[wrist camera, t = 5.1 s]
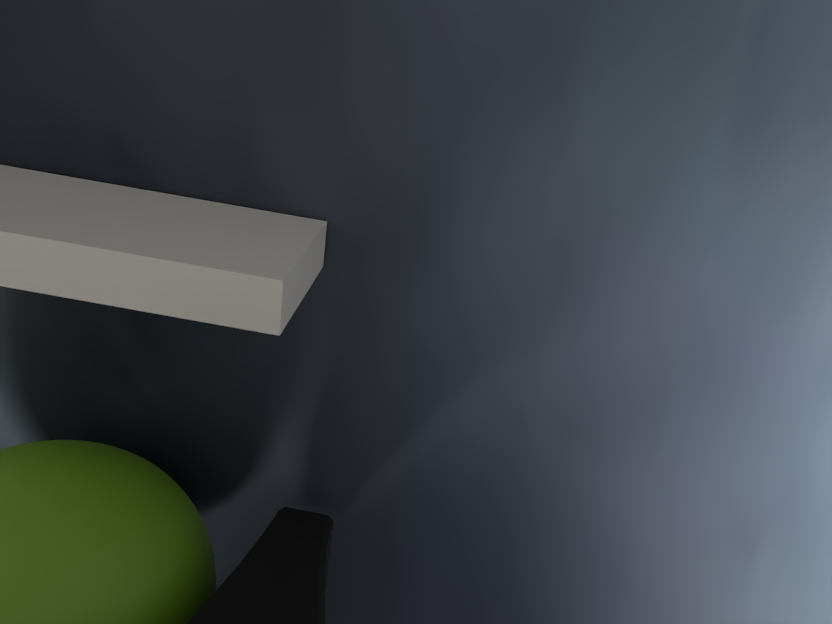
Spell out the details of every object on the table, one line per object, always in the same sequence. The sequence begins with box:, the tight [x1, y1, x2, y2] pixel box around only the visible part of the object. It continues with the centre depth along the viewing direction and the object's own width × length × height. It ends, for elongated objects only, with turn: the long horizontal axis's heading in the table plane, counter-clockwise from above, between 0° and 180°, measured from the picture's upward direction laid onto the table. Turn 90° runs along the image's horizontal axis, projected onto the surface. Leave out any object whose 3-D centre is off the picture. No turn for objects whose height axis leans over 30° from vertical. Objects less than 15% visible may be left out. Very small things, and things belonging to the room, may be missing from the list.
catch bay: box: [0, 165, 327, 336], centre depth 12 cm, size 13×11×2 cm
